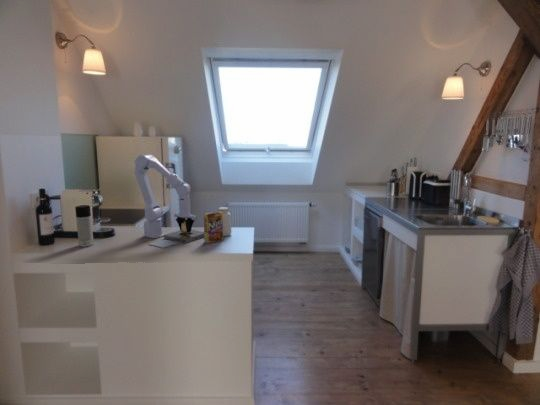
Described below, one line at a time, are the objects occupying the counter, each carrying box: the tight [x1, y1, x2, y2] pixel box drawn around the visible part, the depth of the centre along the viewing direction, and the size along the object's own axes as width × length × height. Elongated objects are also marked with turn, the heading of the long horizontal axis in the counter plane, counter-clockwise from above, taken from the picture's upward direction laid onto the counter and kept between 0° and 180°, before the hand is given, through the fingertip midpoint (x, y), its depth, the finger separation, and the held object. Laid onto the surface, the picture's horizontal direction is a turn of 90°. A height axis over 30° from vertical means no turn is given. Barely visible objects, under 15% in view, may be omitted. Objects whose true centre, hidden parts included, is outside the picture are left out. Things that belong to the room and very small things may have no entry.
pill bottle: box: [218, 206, 232, 237], centre depth 207 cm, size 8×8×15 cm
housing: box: [163, 229, 204, 244], centre depth 203 cm, size 16×16×2 cm
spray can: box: [74, 204, 94, 248], centre depth 188 cm, size 7×7×20 cm
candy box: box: [203, 210, 224, 244], centre depth 194 cm, size 9×4×15 cm, turn 123°
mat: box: [149, 239, 180, 249], centre depth 191 cm, size 10×10×1 cm
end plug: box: [181, 222, 190, 236], centre depth 203 cm, size 4×4×8 cm
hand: (185, 231), depth 203 cm, fingers closed on end plug, 4 cm apart
